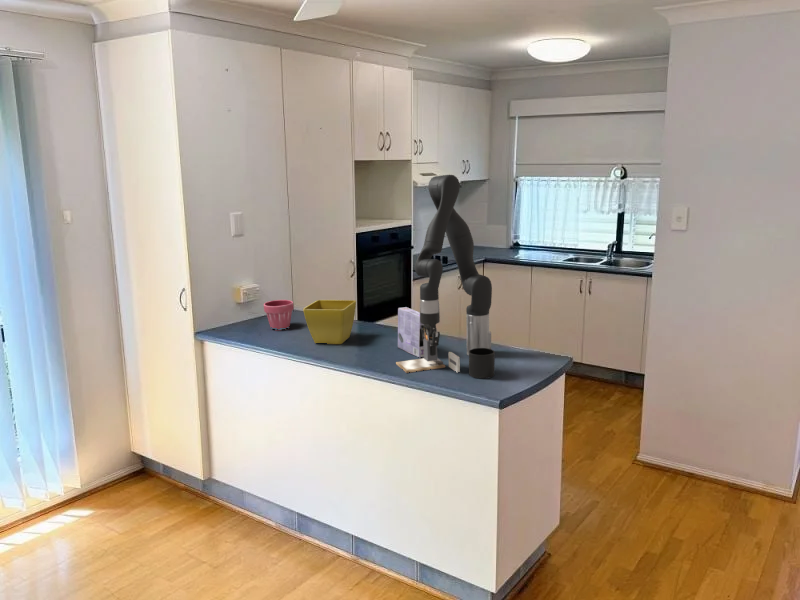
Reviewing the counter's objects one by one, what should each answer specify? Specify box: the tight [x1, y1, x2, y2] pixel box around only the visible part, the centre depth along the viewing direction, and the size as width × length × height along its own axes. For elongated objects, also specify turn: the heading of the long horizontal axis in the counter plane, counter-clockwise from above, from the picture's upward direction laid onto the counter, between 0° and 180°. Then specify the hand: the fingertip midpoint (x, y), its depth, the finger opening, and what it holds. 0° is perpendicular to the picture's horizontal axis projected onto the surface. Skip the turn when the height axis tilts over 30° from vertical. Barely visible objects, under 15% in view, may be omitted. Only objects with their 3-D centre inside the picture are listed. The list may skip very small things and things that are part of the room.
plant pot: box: [263, 299, 295, 329], centre depth 318 cm, size 14×14×13 cm
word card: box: [448, 351, 461, 374], centre depth 248 cm, size 1×8×6 cm, turn 19°
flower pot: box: [302, 299, 357, 345], centre depth 292 cm, size 19×19×17 cm
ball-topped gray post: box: [423, 335, 438, 361], centre depth 251 cm, size 4×4×10 cm
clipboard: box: [395, 357, 446, 374], centre depth 254 cm, size 16×12×2 cm
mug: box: [468, 348, 496, 380], centre depth 242 cm, size 9×12×9 cm
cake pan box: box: [397, 306, 424, 359], centre depth 271 cm, size 19×5×18 cm, turn 30°
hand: (430, 353), depth 251 cm, fingers closed on ball-topped gray post, 4 cm apart
